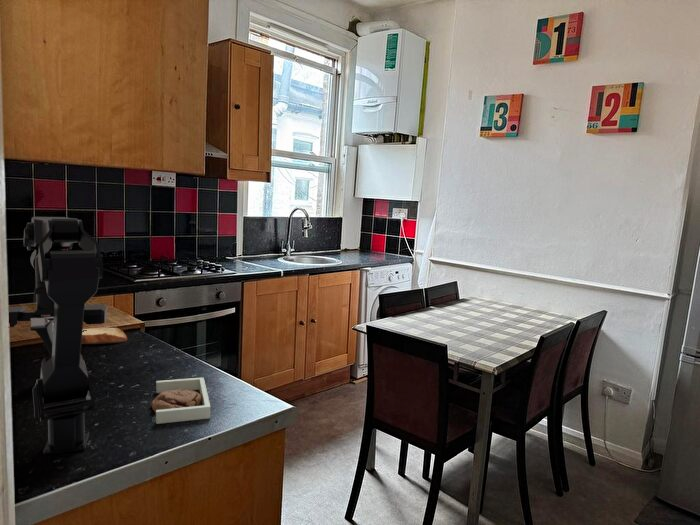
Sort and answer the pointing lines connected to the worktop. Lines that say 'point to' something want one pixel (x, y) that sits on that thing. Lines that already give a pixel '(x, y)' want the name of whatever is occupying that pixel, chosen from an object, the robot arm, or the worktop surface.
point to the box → (183, 412)
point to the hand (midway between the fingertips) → (54, 357)
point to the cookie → (176, 399)
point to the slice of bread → (103, 336)
